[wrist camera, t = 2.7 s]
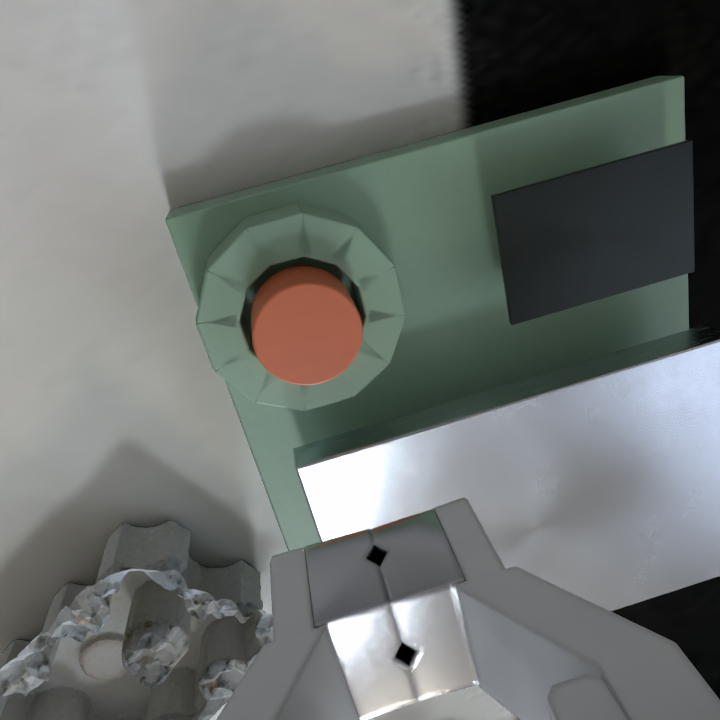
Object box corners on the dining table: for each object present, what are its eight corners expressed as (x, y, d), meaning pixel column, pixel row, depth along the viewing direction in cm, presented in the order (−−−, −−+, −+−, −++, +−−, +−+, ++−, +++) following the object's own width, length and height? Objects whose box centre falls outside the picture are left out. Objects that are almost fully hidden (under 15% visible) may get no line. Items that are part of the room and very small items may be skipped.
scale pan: (231, 268, 18) (231, 280, 17) (705, 134, 18) (734, 138, 17) (365, 663, 24) (371, 690, 23) (707, 553, 25) (728, 574, 24)
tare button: (237, 281, 18) (237, 300, 17) (338, 252, 18) (348, 268, 17) (267, 373, 20) (271, 399, 18) (363, 345, 20) (374, 368, 18)
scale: (169, 209, 20) (158, 230, 17) (658, 75, 21) (721, 74, 18) (321, 624, 27) (330, 684, 25) (673, 512, 28) (719, 558, 26)
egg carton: (123, 739, 28) (105, 840, 24) (-35, 663, 25) (-84, 765, 21) (296, 588, 26) (305, 672, 23) (148, 487, 23) (131, 565, 20)
